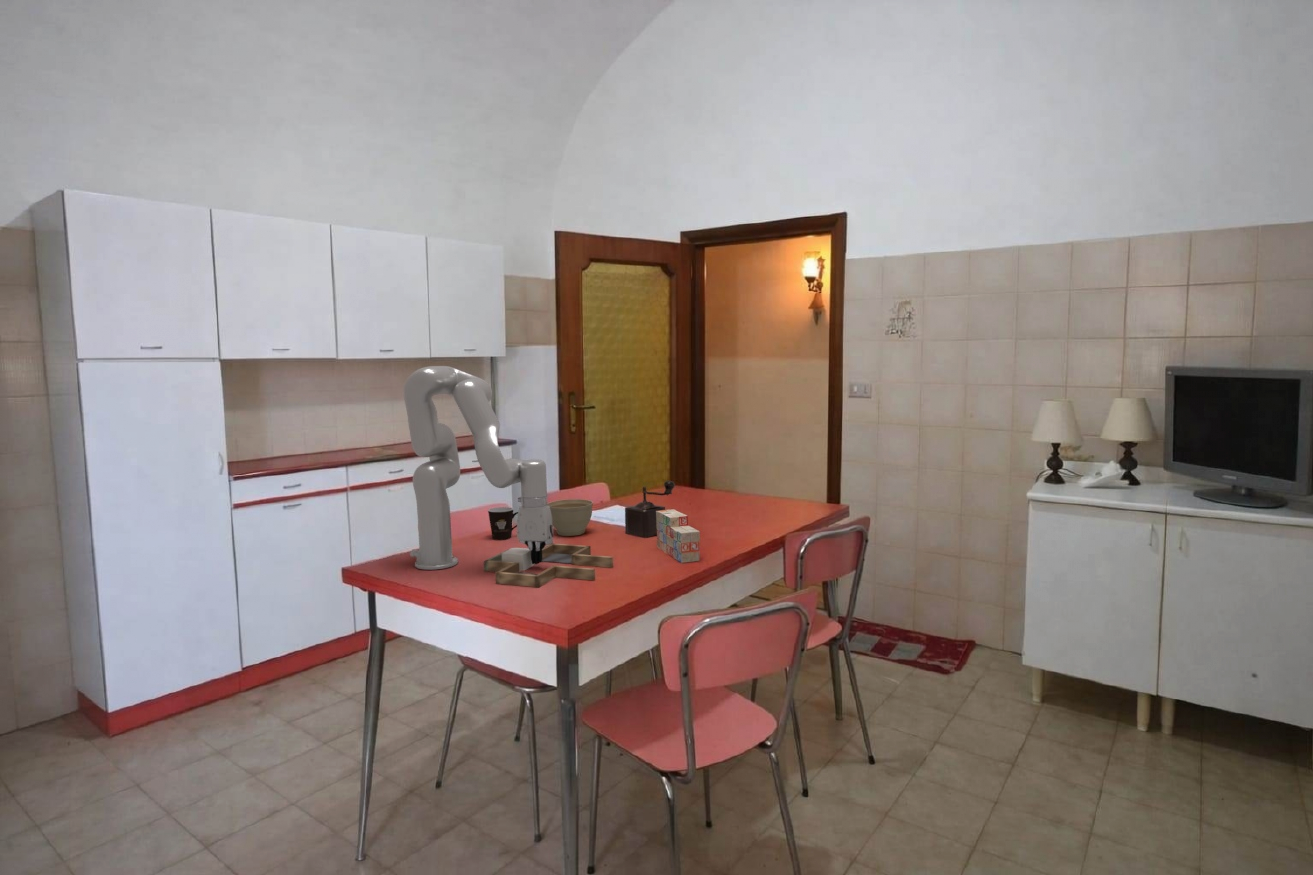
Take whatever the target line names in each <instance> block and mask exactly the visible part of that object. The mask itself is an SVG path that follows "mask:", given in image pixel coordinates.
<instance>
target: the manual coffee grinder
mask: <svg viewBox="0 0 1313 875" xmlns="http://www.w3.org/2000/svg"><path fill="white" fill-rule="evenodd" d="M663 486H664V489H665V490H664V492H657V491H655V492H654V491H647V487H646V486H643V487H642V493H643V494H642V496H643V498H642V499H643V500H642V501H641V502H638V503H637V504H636V505H631V506H626V507H624V523H625V524H624V525H625V527H624V528H625V530H624V533H625V534H627V535H629V536H634V537H639V538H644V539H646V538H651V537H655V536H656V537H657V525H656V511H661V510H666V507H665V506H662V505H656V504H655V503H653V502H651V501H647V495H652V496H653V495H654V496H655V495H656V496H669V495H672V494H673V492H672V491H673V489H675V486H676V484H675V483H674V481H671V480H666V481H664V483H663Z"/></svg>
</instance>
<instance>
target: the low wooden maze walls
mask: <svg viewBox="0 0 1313 875" xmlns="http://www.w3.org/2000/svg"><path fill="white" fill-rule="evenodd" d="M509 549H510V548H508V549H506V550H504V551H501V552H500V553H498V554H496V555H494V556H492V557H489V558H487V559H485V560H484V561H483V569H484V570H483V571H484V572H490V573H491V572H492V573H494V574H495V575H494V576H495V584H498V585H508V586H521V587H531V588H532V587H533V588H540V587H542V586H543V585H545V584H547V583H548V582H550V581H551V580H554V579H555V578H559V579H560V578H561V579H574V580H575V579H576V580H585V581H586V580H587V581H595V580H596V568H589V567H600V568H611V569H612V568H613V567H614V556H606V555H595V554H594V555H593V554H592V551H591V545H583V544H582V545H580V544H578V545H577V544H565V543H554V542H553V543H552V544H550V545H546V546H545V547H544V548H543V549H542V562H541V563H552V564H565V565H551V566H549V567H548V568H546V569H544V570H543V571H541V572H539V573H534V572H532V573H531V572H523V571H519V563H517V562H505V561H502V553H503V552H505V551H507V550H509ZM567 564H568V565H572V566H566V565H567ZM577 566H580V567H577ZM581 566H584V567H581ZM585 566H586V567H585Z"/></svg>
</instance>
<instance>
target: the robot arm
mask: <svg viewBox="0 0 1313 875" xmlns="http://www.w3.org/2000/svg"><path fill="white" fill-rule="evenodd" d="M435 395H437V396H438V395H449V396H451V397H453V398H454V401H455V404H456V405H457V407H458V409H459V411H460V413H461V414H462V416H463V418H464V420H465V422H466V425H467V426H468V428H469V431H470V432H471V435H472V436H473V445H474V450H475V456H476V459H477V462H478V464H479V466H480V468H481V469H482V472H483V474H484V476H485V477H486V479H487V480H488V482H489V484H491V485H492V486H493V487H495V488H497V489H498V488H499V489H505V488H508V487H510V486H513V485H515V484H518V483H520V493H521V494H520V497H518V498H517V502H518V503H520V506H519V507H518V511H517V512H518V514H517V517H516V518H517V519H516V525H517V527H516V537H517V539H518V542H519V543H521V544H525V545H526V548H527V547H528V548H529V550H530V551H531V560H532V564H534V565H538V564H540V563H543V562H542V549H543V548H544V547H546V546H548V545H550V544H552V543H553V544H554V539H553V537H554V526H553V522H552V515H551V511H550V507H549V506H547V504H548V487H547V485H548V484H547V482H548V480H547V464H546V461H544V460H542V459H519V458H515V457H514V458H513V457H512V458H506V459H505V458H504V456H503V453H502V451H501V449H500V446H499V442H498V438H499V431H500V426H501V424H500V421H499V418H498V417H497V416H496V415H497V414H496V413H495V411H494V410H493V407H492V406H491V404H490V402H491V400H492V397H493V390H492V387H491V385H490V384H489V382H487V381H486V380H484V378H481V377H479V376H476V375H474V374H473V375H472V374H470V373H467V372H465V371H463V370H460V369H458V368H455V367H452V366H448V365H430V366H424V367H421V368H418V369H416V370H414V372H412V373H411V374H410V375H409V376H408V377H407V379H406V380H405V383H404V387H403V400H404V404H405V409H406V414H407V423H408V429H409V436H410V437H409V438H410V443H411V447H412V450H413V452H414V453H415V454H416V455H417V456H418V457H421V458H429V461H425V462H424V463H421V464H420V465H419V466H418V467H417V468H416V469H415V470H414V473H413V476H412V485H413V490H414V494H415V495H414V496H415V500H416V510H417V511H416V514H417V528H418V531H417V532H418V548H419V549H416V548H413V549H411V552H409V557H411V558H416V561H415V562H414V567H415V568H417V569H418V570H419V569H420V570H427V571H429V570H431V571H433V570H441V569H443V570H444V569H447V568H451V567H454V566H456V565H457V564H458V563H459V560H458V557H456V556H453V542H452V541H453V539H452V538H453V537H452V523H451V522H452V521H451V508H450V507H451V504H450V500H449V496H448V493H447V490H448V488H451V487H454V485H456V484H457V483H458V482H459V479H460V476H461V463H460V459H459V451H458V445H457V444H458V443H457V440H456V436H455V433H454V431H453V430H452V428H451V427H450V426H448V425H447V424H445V423H441V422H439V418H438V412H437V408H436V405H435V402H434V401H433V397H434V396H435Z"/></svg>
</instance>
